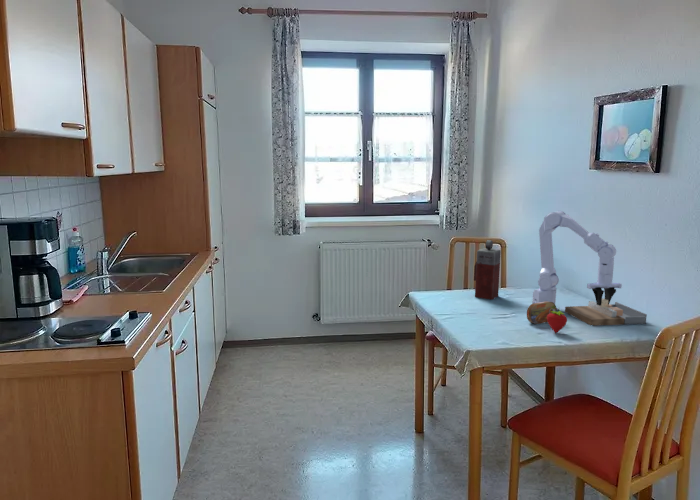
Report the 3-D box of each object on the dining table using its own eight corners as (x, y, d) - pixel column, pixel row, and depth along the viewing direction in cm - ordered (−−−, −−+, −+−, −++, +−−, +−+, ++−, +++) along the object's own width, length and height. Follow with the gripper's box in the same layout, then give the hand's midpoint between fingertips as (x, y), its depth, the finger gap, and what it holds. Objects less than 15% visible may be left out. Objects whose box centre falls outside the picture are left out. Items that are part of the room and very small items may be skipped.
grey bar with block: (610, 317, 219) (612, 304, 218) (587, 306, 235) (588, 294, 234) (617, 317, 219) (618, 304, 218) (593, 306, 236) (594, 294, 235)
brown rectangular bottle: (476, 292, 270) (479, 238, 265) (498, 296, 263) (501, 240, 259) (470, 296, 262) (472, 240, 258) (492, 299, 256) (495, 242, 252)
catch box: (624, 324, 218) (625, 315, 218) (595, 311, 238) (596, 302, 237) (645, 323, 219) (646, 314, 219) (615, 310, 239) (616, 301, 238)
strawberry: (548, 328, 211) (550, 304, 210) (568, 332, 207) (570, 307, 205) (543, 332, 207) (545, 307, 205) (563, 336, 202) (565, 310, 201)
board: (590, 325, 216) (591, 319, 216) (564, 312, 236) (565, 306, 235) (623, 324, 218) (624, 318, 218) (595, 311, 238) (595, 305, 237)
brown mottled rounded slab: (530, 325, 216) (531, 305, 215) (524, 323, 219) (525, 303, 217) (556, 320, 223) (558, 301, 221) (550, 318, 226) (552, 299, 224)
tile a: (612, 315, 221) (613, 310, 221) (606, 312, 226) (606, 307, 225) (622, 315, 222) (623, 310, 222) (615, 312, 226) (616, 307, 226)
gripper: (594, 275, 220) (592, 307, 222) (627, 275, 221) (624, 306, 224) (585, 272, 226) (582, 303, 229) (616, 271, 228) (614, 302, 230)
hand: (602, 304), depth 227 cm, fingers closed on grey bar with block, 3 cm apart
